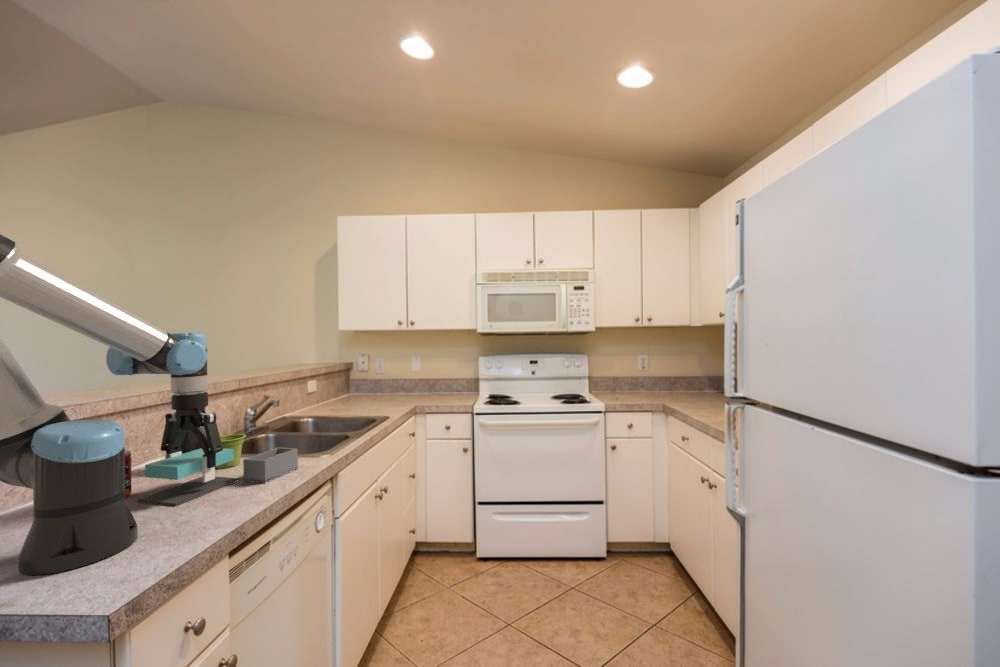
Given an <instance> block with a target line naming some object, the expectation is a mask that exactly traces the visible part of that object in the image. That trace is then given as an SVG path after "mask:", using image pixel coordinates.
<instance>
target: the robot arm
mask: <svg viewBox="0 0 1000 667" xmlns="http://www.w3.org/2000/svg"><path fill="white" fill-rule="evenodd" d="M0 298H1V299H4V300H5V301H8V302H9V303H12V304H14V305H17V306H18V307H21V308H23V309H25V310H28V311H30V312H32V313H34V314H36V315H39V316H41V317H42V318H45V319H47V320H50V321H52V322H54V323H56V324H58V325H60V326H62V327H65V328H68V329H70V330H72V331H74V332H76V333H78V334H80V335H82V336H85V337H87V338H90V339H91V340H94V341H96V342H98V343H100V344H102V345H104V346H107V347H108V349H107V352H106V357H105V360H106V366H107V369H108V370H109V371H110V373H111V374H113V375H115V376H132V375H134V376H135V375H170V392H171V393H172V394H173V395H171V398H170V401H171V402H170V404H171V409H172V410H174V411H175V412H170V413H166V414H165V415H164V418H165V425H164V430H163V434H162V439H161V445H160V450H161V452H165V454H166V453H167V454H168V458H170V457H174V456H177V455H181V454H182V451H180V450H182V449H181V448H180V446H181V444H182V442H183V439H184V437H185V435H186V433H187V430H191V431H192V432H193V433H195V435H196V437H197V439H198V441H199V443H200V445H201V447H202V450H203V452H204V455H202V471H201V472H202V473H201V477H203V482H207V481H210V480H212V479H215V477H216V473H215V472H216V453H217V452H220V451H222V450H223V447H222V443H221V439H220V436H221V435H220V432H219V428H218V424H217V414H216V413H207V412H206V408H207V407H208V405H209V393H208V392H207V390H209V388H208V387H209V386H208V385H209V384H208V383H209V382H208V344H207V342H208V340H207V337H206V335H205V334H204V333H203V332H202V333H201V332H173V333H170V332H168V331H165V330H164V329H162V328H160V327H158V326H157V325H154V324H152V323H151V322H149V321H147V320H146V319H144V318H142V317H140V316H139V315H136V314H134V313H133V312H131V311H128V310H127V309H125V308H124V307H121V306H119V305H118V304H116V303H114V302H112V301H110V300H108V299H107V298H105V297H103V296H101V295H100V294H98V293H95V292H93V290H90V289H89V288H86V287H84V286H83V285H82V284H81V285H80V284H79V283H77V282H75V281H74V280H71V279H70V278H68V277H66V276H65V275H63V274H61V273H59V272H57V271H55V270H53V269H52V268H49V267H47V266H46V265H44V264H43V263H40V262H39V261H37V260H34V259H33V258H32V257H29V256H27V255H26V254H24V253H23V252H21V251H20V247H19V245H18V242H15V241H14V240H12V239H10V238H8V237H6V236H5V235H3V234H1V233H0ZM38 391H39V390H37V388H36V386H35V385H34V384H33V382H32V381H31V379H30V378H29V377H28V375H27V374H26V371H25V370H24V369H23V367H22V366H21V365H20V363H19V362H18V360H17V359H16V358H15V356H14V355H13V353H12V351H11V350H10V348H9V347H8V346H7V344H6V342H5V341H4V340H3V338H2V337H1V336H0V482H2V483H4V484H6V485H10V486H13V487H18V488H19V487H22V488H25V489H26V488H27V489H30V490H32V493H33V494H32V495H33V496H32V497H33V501H32V502H33V520H32V524H31V525H30V526H31V527H30V529H29V531H28V533H27V536H26V538H25V540H24V542H23V545H22V548H21V550H20V552H19V554H18V563H17V564H18V571H19V573H21V574H22V575H28V576H30V575H31V576H32V575H33V576H38V575H49V574H54V573H60V572H65V571H70V570H72V569H78V568H80V567H84V566H87V565H89V564H90V563H91V564H94V563H95V562H96V561H97V562H99V561H102V560H104V558H105V559H107V558H109V557H111V556H110V555H112V556H114V555H116V554H119V553H120V552H122V551H123V550H126V549H127V548H129V547H130V546H132V545H133V544H134V543H135V542H136V541H137V539H138V537H139V533H138V532H139V531H138V530H139V529H138V528H139V527H138V523H137V521H136V519H135V518H134V515H133V513H132V511H131V509H130V507H129V505H128V503H127V501H126V498H125V450H126V449H125V446H126V438H125V433H124V428H123V426H122V425H121V424H120V423H118V422H116V421H114V420H109V419H87V418H86V419H77V420H75V419H74V420H71V419H70V417H69V416H68V415H67V413H66V412H65V410H64V409H63V407H62V406H60V405H54V404H49V403H46V401H45V400H44V398H43V397H42V396H41V394H40V393H39V392H38ZM167 444H169V445H167ZM216 447H217V448H216ZM209 449H210V450H209ZM177 451H179V452H177ZM169 480H172V481H173V480H174V479H169ZM113 554H114V555H113ZM108 556H109V557H108ZM106 557H107V558H106ZM101 559H102V560H101ZM93 562H94V563H93Z"/></svg>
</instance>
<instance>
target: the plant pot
mask: <svg viewBox="0 0 1000 667" xmlns="http://www.w3.org/2000/svg"><path fill="white" fill-rule="evenodd" d="M246 437H247V436H246V434H242V433H238V434H237V433H233V434H225V435H220V439H221V443H222V447H223V449H233V457H234V460H232V461H230V462H227V463H224V464H221V465H218V466H215V468H217V469H225V468H224V467H228V468H230V467H236V466H239V465H240V463H241V462H240V461H241V456H242V450H243V444H244V441H245V438H246ZM216 448H217V447H216ZM235 465H236V466H235Z"/></svg>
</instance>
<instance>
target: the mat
mask: <svg viewBox="0 0 1000 667" xmlns="http://www.w3.org/2000/svg"><path fill="white" fill-rule="evenodd" d="M237 480H239V481H240V478H239V477H229V476H228V477H225V476H215V479H212V480H210V481H207V482H203V477H202V476H201V477H197V478H195V479H192V480H188V481H186V482H183V483H179V484H178V485H175V486H172V487H169V488H167V489H163V490H161V491H158V492H155V493H152V494H149V495H147V496H144V497H141V498H138V499H136V501H137V503H139V502H141V503H142V504H149V503H150V504H149V505H159V504H161V506H168V507H169V506H170V507H177V506H180V505H182V504H185V503H188V502H190V501H193V500H194V499H198V498H201V497H202V496H206V495H207V494H210V493H213V492H215V491H217V490H220V489H222V488H224V487H223V486H225V485H227V486H229V485H228V484H230V483H232V484H234V483H233V482H235V481H237ZM237 482H238V481H237ZM235 483H236V482H235ZM230 485H231V484H230ZM221 487H222V488H221ZM225 487H226V486H225ZM219 488H220V489H219ZM214 490H215V491H214Z"/></svg>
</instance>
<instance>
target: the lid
mask: <svg viewBox="0 0 1000 667" xmlns="http://www.w3.org/2000/svg"><path fill="white" fill-rule="evenodd" d="M209 450H210V449H209ZM202 455H204V452H203V450H202V448H201V449H197V450H194V451H191V452H187V453H184V454H181V455H177V456H174V457H170V458H167V459H165V458H164V459H161V460H157V461H154V462H149V463H147V464H145V466H144V467H145V468H144V469H145V470H144V472H145V478H151V479H163V480H164V479H165V480H170V479H173V480H176V481H177V480H181V479H184V478H187V477H189V476H192V475H193V476H194V475H195V474H198V473H201V472H202ZM232 460H234V457H233V449H223V450H222V451H220V452H217V453H216V466H218V465H221V464H224V463H227V462H230V461H232ZM216 466H215V467H216Z"/></svg>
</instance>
